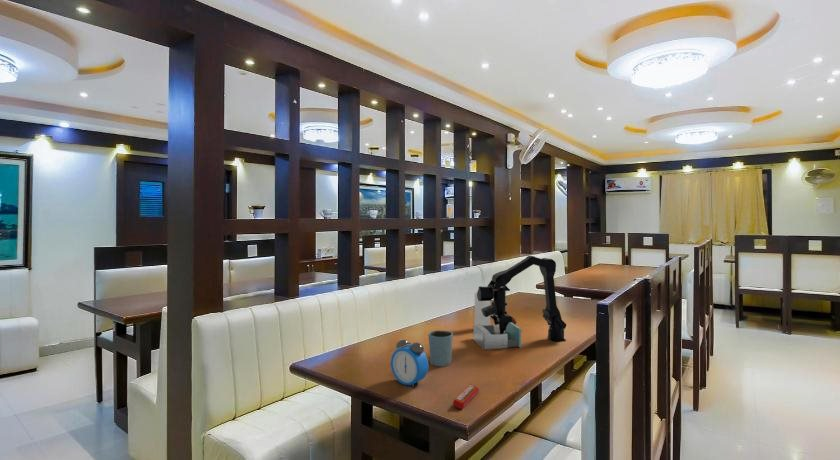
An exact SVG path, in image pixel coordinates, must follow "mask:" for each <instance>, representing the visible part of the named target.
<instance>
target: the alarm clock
mask: <svg viewBox="0 0 840 460" xmlns="http://www.w3.org/2000/svg"><path fill="white" fill-rule="evenodd" d="M395 348H396V349H395V350H394V351H393V353H392V355H391V357H390V368H391V371H392V374H393V376H394V378H395V379H396V380H397V381H398V382H397V383H400V384H402V385H405V386H412V388H414V385H415V384H416V383H418V382H420V381H422V380H424V379H425V378H426V376H427V374H428V372H429V360H428V358H427V355H426V353H425V351H424V350H425V349H424V345H423V344H422V343H419V342H417V341H416V342H412V343H411V342H409V341H408V340H407V339H399V341H397V342H396V344H395Z"/></svg>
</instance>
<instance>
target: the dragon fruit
mask: <svg viewBox="0 0 840 460" xmlns="http://www.w3.org/2000/svg"><path fill="white" fill-rule="evenodd" d="M510 316H511V317H512V318H513V322H511V323H513V324H514V325H517V320H516V318H515V317H514V316H513V315H510ZM505 332H506V329H505Z"/></svg>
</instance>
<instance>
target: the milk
mask: <svg viewBox="0 0 840 460" xmlns="http://www.w3.org/2000/svg"><path fill="white" fill-rule="evenodd" d="M477 288H478V289H479V287H477ZM478 289H477V291H476V292H475V293H474V325H475V324H481V325H491V317H490V316H491V315H490V316H488V317H485V316H483V313H482V310H481V309H482V308H485V307H487V306H490V305H491V301H478V298H477V293H478Z"/></svg>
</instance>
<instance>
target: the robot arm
mask: <svg viewBox="0 0 840 460" xmlns="http://www.w3.org/2000/svg"><path fill="white" fill-rule="evenodd" d="M533 265H534V266H537V267H539V270H540V273H541V276H542V277H543V285H544V295H545V304H546V305H545V308H543V309H542V318H544V320H545V321H546V323H547V325H548V331H547V338H548V339H549V340H551V341H552V342H562V341H563V342H564V341H566V339H565V329H566V328H567V323H566V322H565V321H564V320H563V319H562V316H561V311H560V310H559V308H558V305H557V298H556V297H557V296H556V287H555V286H556V285H555V274H556V270H557V269H556V268H557V263H556V260H554V259H552V258H547V257H543V258H540V257H536V256H534V255H527V256H526V257H525V258H524V259H522V260H520V261H518V262H517V263H515V264H514V265H513V266H511V267H509V268H507V269H505V270H500V271H498V272H496V273H494V274H493V275H492V276H491V280H490V281H489V283H488V284H487V286H478V288H479V289H477V291H478V293H477V298H478V301H490V302H491V301H492V302H491V303H490V306H487V307H485V308H482V309H481V310H482V313H483V316H485V317H488V316H490V319H492V320H493V325H496V324H499V330H500V334H503V333H504V331H505V329H506V327H507V325H508V323H509V322H513V318H514V317H513V318H512V317H511V316H512V315H510V314H509V313H508V311H507V309H506V307H507V306H508V303H507V301H506V300H507V299H506V295H507V294H506V293H507V292H510V291H511V289H510V288H509V287H508V284H509V283H510V282H511V281H512V279H513V278H514V277H516V276H518V275H519V274H520V273H522V272H523V271H525V270H527V269H528V268H530V267H532V266H533ZM505 332H506V331H505Z"/></svg>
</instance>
